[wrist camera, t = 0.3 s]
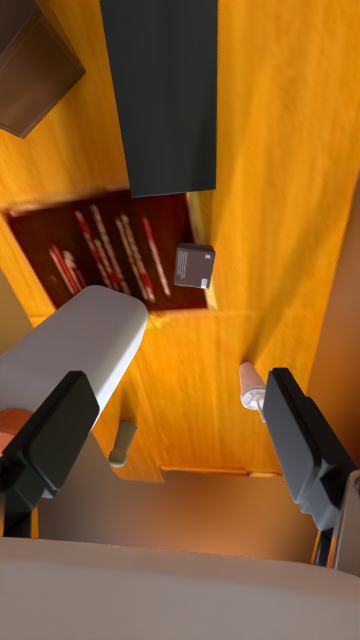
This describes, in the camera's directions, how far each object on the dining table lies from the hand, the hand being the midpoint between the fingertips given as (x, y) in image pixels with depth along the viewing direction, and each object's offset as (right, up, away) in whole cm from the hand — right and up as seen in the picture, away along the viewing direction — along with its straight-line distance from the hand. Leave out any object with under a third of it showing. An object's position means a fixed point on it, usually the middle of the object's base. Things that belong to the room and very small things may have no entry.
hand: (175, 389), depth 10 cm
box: (+3, +15, +27) cm, 31 cm away
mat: (-2, +34, +17) cm, 38 cm away
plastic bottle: (-15, +4, +34) cm, 38 cm away
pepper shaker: (-17, -32, +53) cm, 64 cm away
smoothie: (+17, -8, +38) cm, 42 cm away
